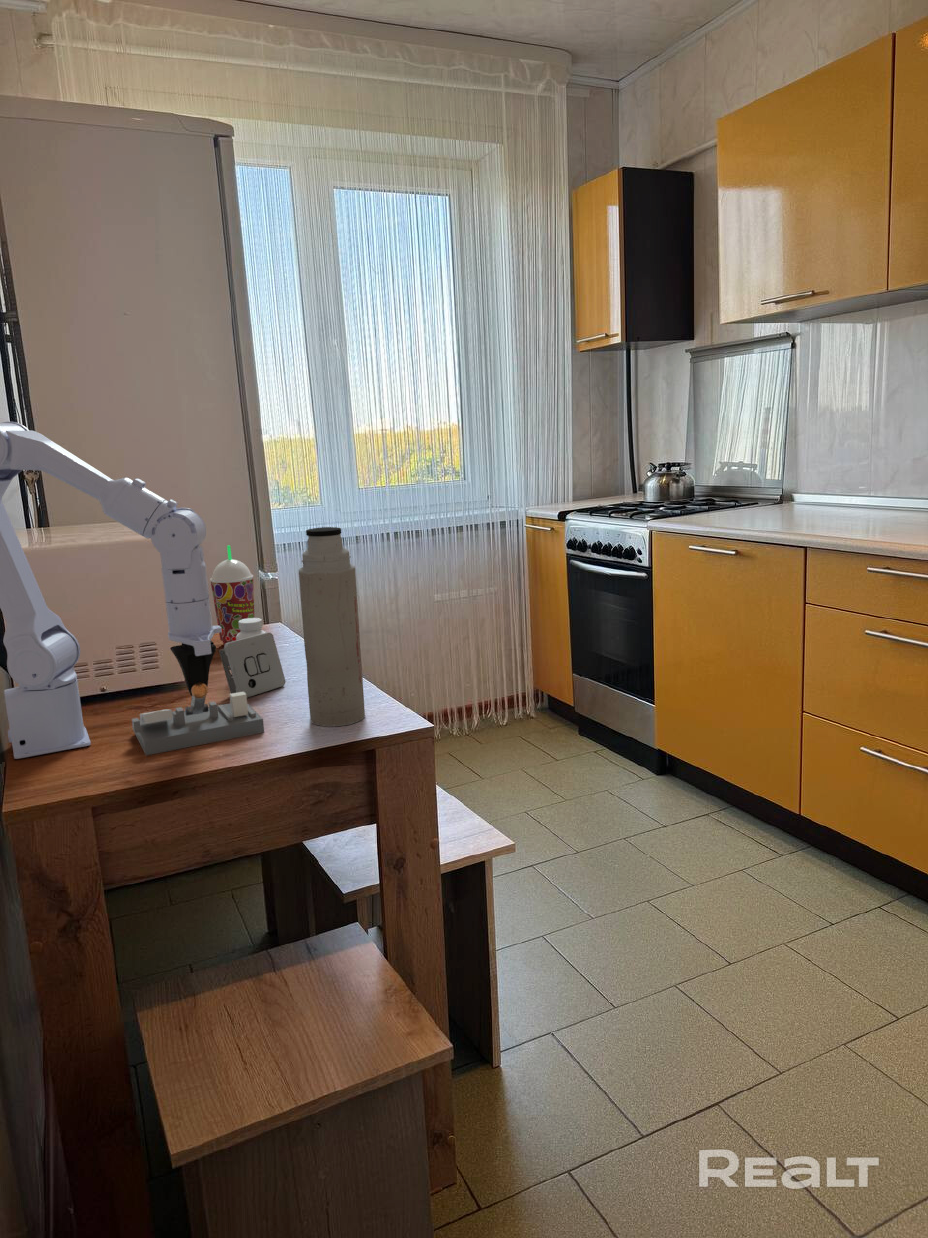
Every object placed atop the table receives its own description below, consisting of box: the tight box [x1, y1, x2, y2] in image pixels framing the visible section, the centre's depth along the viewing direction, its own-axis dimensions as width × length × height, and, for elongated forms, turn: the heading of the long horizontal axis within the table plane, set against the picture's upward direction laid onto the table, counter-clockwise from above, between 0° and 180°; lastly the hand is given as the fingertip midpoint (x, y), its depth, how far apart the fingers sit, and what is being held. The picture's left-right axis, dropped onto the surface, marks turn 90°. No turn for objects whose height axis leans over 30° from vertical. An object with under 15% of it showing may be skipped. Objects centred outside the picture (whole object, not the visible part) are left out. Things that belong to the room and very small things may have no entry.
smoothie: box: [209, 545, 256, 646], centre depth 173 cm, size 8×8×20 cm
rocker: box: [139, 709, 173, 723], centre depth 121 cm, size 4×6×1 cm, turn 28°
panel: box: [131, 701, 265, 756], centre depth 123 cm, size 17×10×4 cm, turn 118°
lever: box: [184, 683, 209, 716], centre depth 121 cm, size 3×2×7 cm
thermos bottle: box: [298, 526, 366, 728], centre depth 125 cm, size 8×8×28 cm
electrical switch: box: [218, 631, 287, 698], centre depth 143 cm, size 9×5×9 cm, turn 141°
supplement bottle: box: [236, 617, 267, 640], centre depth 152 cm, size 5×5×10 cm
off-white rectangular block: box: [229, 692, 248, 717], centre depth 124 cm, size 2×2×3 cm
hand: (198, 694), depth 122 cm, fingers closed, pressing on lever
